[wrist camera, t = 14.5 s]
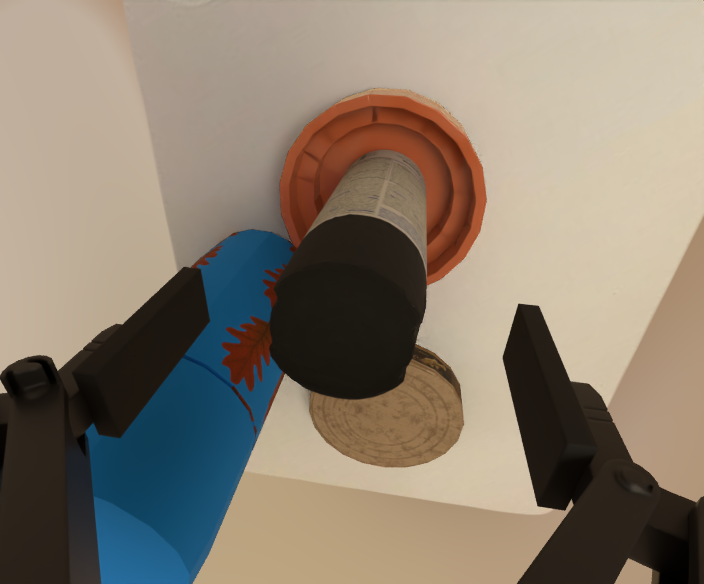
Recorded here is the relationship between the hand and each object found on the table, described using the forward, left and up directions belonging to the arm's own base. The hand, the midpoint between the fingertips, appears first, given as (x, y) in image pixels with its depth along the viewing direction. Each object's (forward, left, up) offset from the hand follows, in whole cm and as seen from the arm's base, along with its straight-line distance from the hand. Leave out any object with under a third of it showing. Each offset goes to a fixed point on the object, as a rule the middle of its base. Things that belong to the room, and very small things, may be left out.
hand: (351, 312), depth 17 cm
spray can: (0, 0, -18) cm, 18 cm away
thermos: (+10, -11, -19) cm, 24 cm away
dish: (0, 0, -19) cm, 19 cm away
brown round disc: (+23, +2, -19) cm, 30 cm away
